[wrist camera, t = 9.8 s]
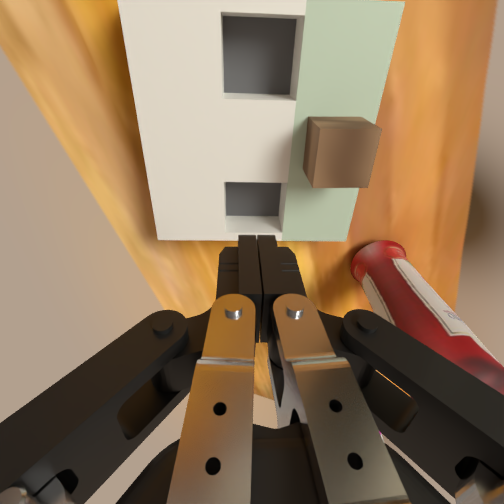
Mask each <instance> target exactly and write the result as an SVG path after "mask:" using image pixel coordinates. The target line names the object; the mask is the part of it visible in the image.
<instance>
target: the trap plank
mask: <svg viewBox="0 0 504 504" xmlns="http://www.w3.org/2000/svg"><path fill="white" fill-rule="evenodd" d="M117 1H118V7H119V13H120V18H121V24H122V30H123V36H124V42H125V48H126V54H127V60H128V66H129V72H130V77H131V83H132V89H133V95H134V101H135V107H136V113H137V119H138V125H139V131H140V136H141V142H142V148H143V154H144V160H145V166H146V172H147V178H148V184H149V189H150V195H151V201H152V207H153V213H154V219H155V225H156V231H157V237H158V240H221V241H238V235H256V240H257V235H275V237H276V241H346V239H347V235H348V231H349V227H350V223H351V219H352V215H353V211H354V207H355V203H356V198H357V194H358V190H359V188H312V186H311V184H310V182H309V180H308V179H307V177H306V175H305V173H304V171H303V160H304V151H305V141H306V132H307V122H308V116H313V117H363V118H364V119H366V120H368V121H369V122H371V123H373V124H375V122H376V118H377V114H378V110H379V106H380V102H381V98H382V94H383V90H384V86H385V82H386V78H387V74H388V69H389V65H390V61H391V57H392V53H393V49H394V45H395V41H396V37H397V33H398V29H399V25H400V21H401V17H402V13H403V9H404V5H405V2H397V1H377V0H117Z"/></svg>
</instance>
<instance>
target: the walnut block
mask: <svg viewBox="0 0 504 504" xmlns="http://www.w3.org/2000/svg"><path fill="white" fill-rule="evenodd" d="M381 131H382V129H381V128H380V127H378V126H376V125H375V124H373V123H371V122H369V121H368V120H366V119H364V118H363V117H313V116H308V122H307V132H306V141H305V151H304V160H303V171H304V173H305V175H306V177H307V179H308V180H309V182H310V184H311V186H312V188H368V185H369V181H370V177H371V173H372V169H373V165H374V160H375V156H376V152H377V148H378V144H379V140H380V136H381Z"/></svg>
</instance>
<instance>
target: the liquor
mask: <svg viewBox="0 0 504 504" xmlns="http://www.w3.org/2000/svg"><path fill="white" fill-rule="evenodd" d="M351 274H352V275H353V277H354V278H355V279H356V280H357V281H359V282H360V283H361V286H362V288H363V290H364V292H365V294H366V296H367V298H368V300H369V303H370V305H371V307H372V309H373V312H374V313H376V314H377V315H379V316H381V317H382V318H384V319H385V320H387V321H388V322H390V323H392V324H393V325H395V326H396V327H398V328H399V329H401V330H403V331H404V332H406V333H407V334H409V335H410V336H412V337H414V338H415V339H417V340H418V341H420V342H421V343H423V344H424V345H426V346H428V347H429V348H431V349H432V350H434V351H435V352H437V353H439V354H440V355H442V356H443V357H445V358H446V359H448V360H450V361H451V362H453V363H454V364H456V365H457V366H459V367H461V368H462V369H464V370H465V371H467V372H468V373H470V374H471V375H473V376H475V377H476V378H478V379H479V380H481V381H482V382H484V383H486V384H487V385H489V386H490V387H492V388H493V389H495V390H497V391H498V392H500V393H501V394H503V395H504V367H503V366H502V365H501V364H500V363H499V362H498V361H497V359H496V358H495V357H494V356H493V355H492V354H491V353H490V352H489V350H488V349H487V348H486V347H485V346H484V345H483V344H482V343H481V341H480V340H479V339H478V338H477V337H476V336H475V334H474V333H473V332H472V331H471V330H470V329H469V328H468V326H467V325H466V324H465V323H464V322H463V321H462V320H461V319H460V318H459V317H458V316H457V315H456V314H455V313H454V311H453V310H452V309H451V308H450V307H449V306H448V305H447V304H446V303H445V302H444V301H443V300H442V299H441V298H440V297H439V295H438V294H437V293H436V292H435V291H434V290H433V289H432V287H431V286H430V285H429V284H428V283H427V282H426V281H425V280H424V278H423V277H422V276H421V275H420V274H419V273H418V272H417V270H416V269H415V268H414V267H413V266H412V264H411V263H410V262H409V261H408V260H407V258H406V253H405V250H404V248H403V247H402V246H401V245H400V244H398V243H396V242H393V241H377V242H374V243H371V244H369V245H367V246H365V247H364V248H362V249H361V250H360V251H359V252H358V253H357V254H356V255H355V257H354V258H353V260H352V263H351ZM410 397H411V396H410ZM411 398H412V397H411ZM412 399H413V398H412Z"/></svg>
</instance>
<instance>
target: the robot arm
mask: <svg viewBox="0 0 504 504" xmlns="http://www.w3.org/2000/svg"><path fill="white" fill-rule="evenodd" d="M259 331H260V342H267V343H268V360H267V362H268V368H269V374H270V379H271V384H272V390H273V395H274V401H275V406H276V411H277V419H278V420H277V421H278V429H272V428H268V427H264V426H260V425H256V424H253V394H254V357H255V344H256V343H259ZM376 370H378V371H379V372H380V373H381V374H383V375H384V376H385V377H387V378H388V379H389V380H391V381H392V382H393V383H395V384H396V385H397V386H399V387H400V388H401V389H402V390H404V391H405V392H406V393H408V394H409V395H410V396H411V397H412V398H413V399H412V398H411V397H409V396H408V395H407V394H405V393H404V392H403V391H402V390H400V389H399V388H398V387H396V386H395V385H394V384H392V383H391V382H390V381H389V380H387V379H386V378H385V377H383V376H382V375H381V374H379V373H378V372H377V371H376ZM189 392H190V395H189V399H188V404H187V409H186V414H185V418H184V424H183V428H182V432H181V437H180V439H178V440H177V441H175V442H174V443H172V444H170V445H169V446H168V447H166V448H165V449H164V450H162V451H161V452H160V453H159V454H158V455H157V456H156V457H155V458H154V459H153V460H152V461H151V462H150V463H149V464H148V465H147V466H146V468H145V469H144V470H143V471H142V472H141V474H140V475H139V476H138V477H137V479H136V480H135V481H134V482H133V483H132V484H131V486H130V487H129V488H128V489H127V490H126V492H125V493H124V494H123V495H122V496H121V498H120V499H119V500H118V501H117V503H116V504H450V503H449V502H448V501H447V500H446V499H445V498H444V497H443V496H442V495H441V494H440V493H439V492H438V491H437V490H436V489H435V488H434V487H433V486H432V485H431V484H430V483H429V482H427V481H426V480H425V479H424V478H423V477H422V476H421V475H420V474H419V473H418V472H417V471H416V470H415V469H414V468H413V467H412V466H411V465H410V464H409V463H408V462H407V461H406V460H405V459H403V458H402V457H401V456H400V455H399V454H398V453H397V452H396V451H394V450H393V449H392V448H390V447H389V446H388V445H387V444H385V443H384V441H383V439H382V437H381V435H380V432H381V433H382V434H383V435H384V436H386V437H387V438H388V439H389V440H390V441H391V442H392V443H393V444H394V445H396V446H397V447H398V448H399V449H400V450H401V451H402V452H403V453H405V454H406V455H407V456H408V457H409V458H410V459H411V460H412V461H413V462H415V463H416V464H417V465H418V466H419V467H420V468H421V469H422V470H423V471H425V472H426V473H427V474H428V475H429V476H430V477H431V478H432V479H434V480H435V481H436V482H437V483H438V484H439V485H440V486H441V487H442V488H444V489H445V490H446V491H447V492H448V493H449V494H450V495H451V496H453V497H454V498H455V500H456V504H504V395H503V394H501V393H500V392H498V391H497V390H495V389H493V388H492V387H490V386H489V385H487V384H486V383H484V382H482V381H481V380H479V379H478V378H476V377H475V376H473V375H471V374H470V373H468V372H467V371H465V370H464V369H462V368H461V367H459V366H457V365H456V364H454V363H453V362H451V361H450V360H448V359H446V358H445V357H443V356H442V355H440V354H439V353H437V352H435V351H434V350H432V349H431V348H429V347H428V346H426V345H424V344H423V343H421V342H420V341H418V340H417V339H415V338H414V337H412V336H410V335H409V334H407V333H406V332H404V331H403V330H401V329H399V328H398V327H396V326H395V325H393V324H392V323H390V322H388V321H387V320H385V319H384V318H382V317H381V316H379V315H377V314H376V313H373V312H371V311H368V310H362V309H356V310H352V311H349V312H348V313H347V314H346V315H345V316H344V318H341V317H337V316H333V315H329V314H325V313H323V312H321V311H319V310H317V309H316V307H315V305H314V303H313V302H312V301H311V300H310V299H308V298H307V296H306V292H305V289H304V285H303V282H302V278H301V274H300V272H299V267H298V265H297V260H296V256H295V254H294V253H293V252H292V251H291V250H290V249H289V248H288V247H278V246H277V242H276V237H275V235H257V240H256V235H238V247H225V248H224V249H223V250H222V252H221V253H220V254H219V267H218V280H217V293H216V301H215V302H214V303H213V305H212V307H211V308H210V309H209V310H208V311H206V312H205V313H203V314H200V315H197V316H194V317H190V318H187V319H186V318H185V317H184V316H183V315H182V314H181V313H179V312H177V311H173V310H162V311H158V312H155V313H153V314H151V315H149V316H147V317H146V318H145V319H143V320H142V321H141V322H139V323H138V324H136V325H135V326H134V327H132V328H131V329H129V330H128V331H127V332H125V333H124V334H123V335H121V336H120V337H119V338H118V339H116V340H114V341H113V342H112V343H110V344H109V345H107V346H106V347H105V348H103V349H102V350H101V351H99V352H98V353H96V354H95V355H94V356H92V357H91V358H89V359H88V360H87V361H85V362H84V363H83V364H81V365H80V366H78V367H77V368H76V369H74V370H73V371H72V372H70V373H69V374H67V375H66V376H65V377H63V378H62V379H60V380H59V381H58V382H56V383H55V384H54V385H52V386H51V387H49V388H48V389H47V390H45V391H44V392H43V393H41V394H40V395H38V396H37V397H36V398H34V399H33V400H31V401H30V402H29V403H27V404H26V405H25V406H23V407H22V408H20V409H19V410H18V411H16V412H15V413H13V414H12V415H11V416H9V417H8V418H7V419H5V420H4V421H3V422H1V423H0V504H84V503H85V502H86V501H87V500H88V499H89V498H90V497H91V496H92V495H93V494H94V493H95V492H96V491H97V489H98V488H99V487H100V486H101V485H102V484H103V483H104V482H105V481H106V480H107V479H108V478H109V477H110V476H111V475H112V474H113V473H114V472H115V470H116V469H117V468H118V467H119V466H120V465H121V464H122V463H123V462H124V461H125V460H126V459H127V458H128V457H129V456H130V455H131V453H132V452H133V451H134V450H135V449H136V448H137V447H138V446H139V445H140V444H141V443H142V442H143V441H144V440H145V439H146V438H147V437H148V436H149V435H150V433H151V432H152V431H153V430H154V429H155V428H156V427H157V426H158V425H159V424H160V423H161V422H162V421H163V420H164V419H165V418H166V417H167V415H169V413H170V412H171V411H172V410H173V409H174V408H175V407H176V406H177V405H178V404H179V403H180V402H181V401H182V400H183V399H184V398H185V397H186V395H187V394H188V393H189ZM379 431H380V432H379Z"/></svg>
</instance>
